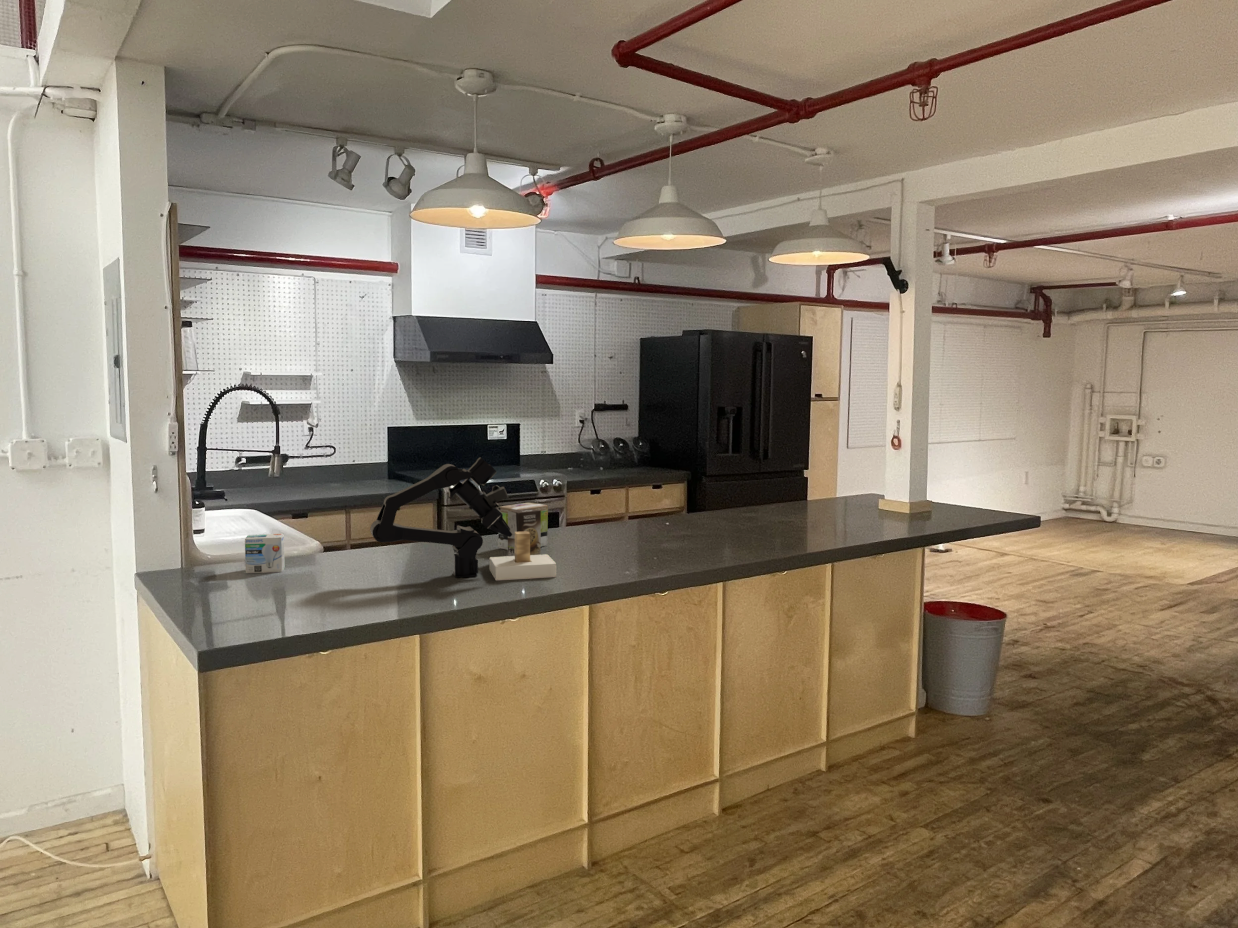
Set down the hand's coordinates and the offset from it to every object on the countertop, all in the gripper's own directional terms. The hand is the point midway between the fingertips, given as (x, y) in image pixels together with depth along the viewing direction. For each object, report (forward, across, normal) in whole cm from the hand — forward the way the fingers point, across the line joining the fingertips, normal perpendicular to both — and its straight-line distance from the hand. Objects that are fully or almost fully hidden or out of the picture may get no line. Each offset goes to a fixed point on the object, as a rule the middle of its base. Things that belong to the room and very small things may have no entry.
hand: (510, 532), depth 267 cm
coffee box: (+13, +20, +5) cm, 24 cm away
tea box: (+14, +40, +4) cm, 42 cm away
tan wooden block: (+11, 0, +6) cm, 13 cm away
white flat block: (+11, 0, +6) cm, 13 cm away
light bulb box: (-42, +16, +61) cm, 76 cm away
